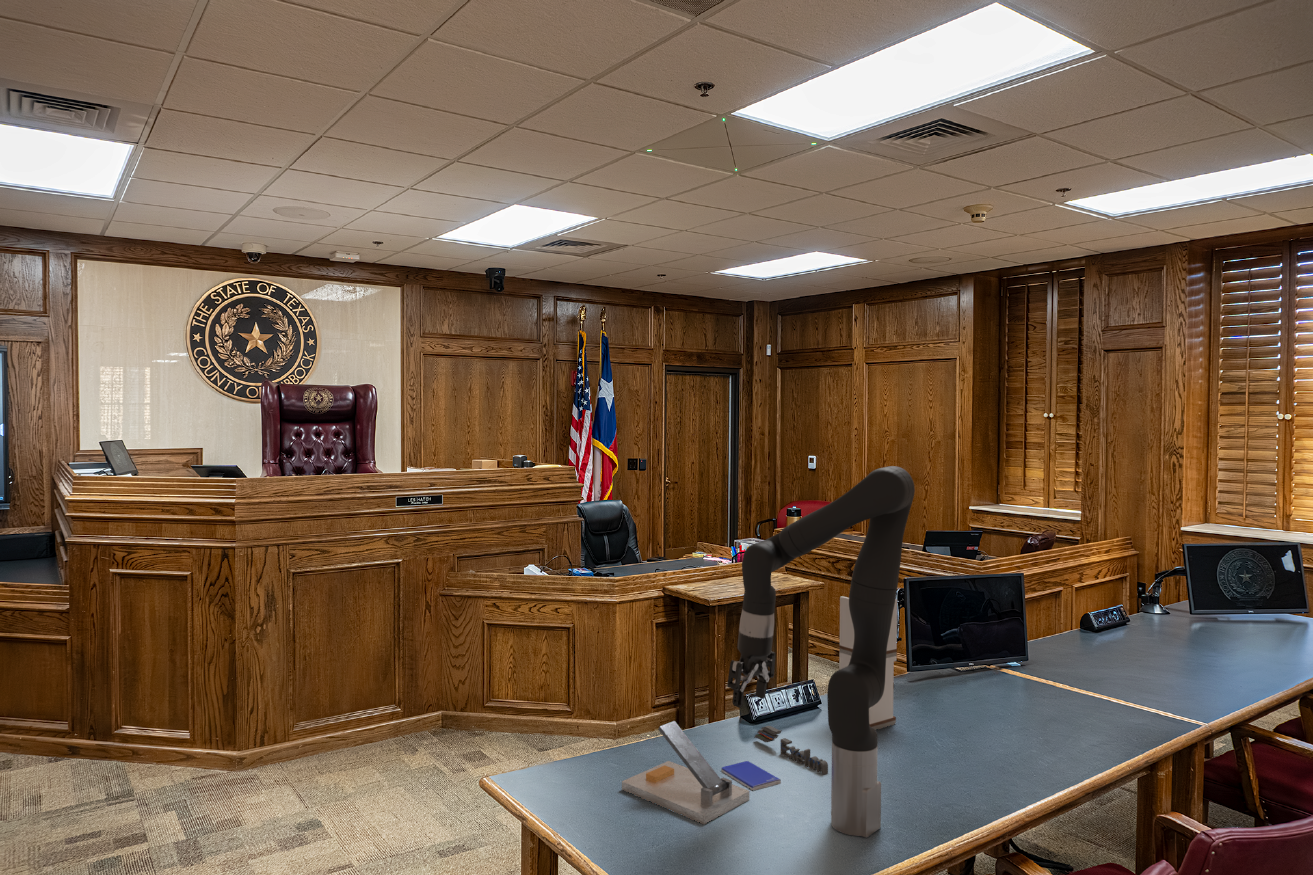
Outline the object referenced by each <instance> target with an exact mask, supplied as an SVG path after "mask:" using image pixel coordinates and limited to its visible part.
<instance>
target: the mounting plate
mask: <svg viewBox="0 0 1313 875" xmlns="http://www.w3.org/2000/svg"><path fill="white" fill-rule="evenodd" d="M720 779H721V780H722V781H724V782H725V783H726V785H727V789H726V790H724V791H722V792H720V793H718V794H716V795H714V796H713V790H710V789H708V788H705V787H702V785H701V784H700V783H699V782H698V780H697V779H696V778H695V776H694V775H693V774H692V773H691V771H690V770H689V769H688V767H687V766H684V765H680V764H678V763H675V762H672V761H671V760H667V761H665V762H662V763H661V764H658V765H656V766H654V767H652V768H649V769H647V770H644V771H642V772H640V773H638V774H635V775H633V776H631V777H628V778H627V779H625V780H622V781H621V791H623V790H624V791H623V792H625V791H626V792H625V793H628V792H629V793H628V794H630V793H632V794H634V795H633V796H635V795H636V796H635V797H637V796H638V797H637V798H639V797H641V798H640V799H642V800H644V799H646V800H645V801H647V802H649V801H651V802H652V803H651V802H650V803H651V804H654V803H656V804H657V805H656V804H655V805H656V806H658V805H660V806H659V807H661V806H662V807H661V808H663V807H665V808H667V809H666V810H668V809H670V810H672V811H671V812H673V811H674V812H673V813H675V812H676V813H675V814H677V813H678V815H680V814H682V815H683V816H682V815H681V816H682V817H684V816H686V817H685V818H687V817H688V818H687V819H689V818H690V820H692V821H694V820H695V821H694V822H696V821H697V822H696V823H699V822H700V823H699V824H701V825H706V824H708V823H709V821H710V822H712V821H713V820H715V819H717V818H718V816H719V817H720V816H722V815H724V814H726V813H728V812H730V811H732V810H733V809H735V808H738V807H739V806H741V805H743V804H745V803H746V802H748V801H750V789H749V790H748V789H746V788H744V787H740V786H738V785H735V784H733V781H732V780H731V779H729V778H726V777H722V778H720ZM632 794H631V795H632ZM665 808H664V809H665ZM670 810H669V811H670ZM711 820H712V821H711ZM707 822H708V823H707Z"/></svg>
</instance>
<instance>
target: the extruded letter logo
mask: <svg viewBox="0 0 1313 875" xmlns="http://www.w3.org/2000/svg"><path fill="white" fill-rule="evenodd" d="M782 731H783V730H782V729H781V730H780V729H779V728H778V729H777V728H775V727H774V726H771V725H766V726H763V727H761V729H759V730H758V731H757V734H755V735H754V738H755V739H759V740H760V741H762V742H764V743H770V742H775V739H777V738H778V737H779V736H780V735H779V734H781V733H782ZM790 744H793V741H792V740H791V739H788V738H786V737H784V738H783V737H782V738H781V739H780V753H779V754H780V755H781V756H783V757H785V758H788V759H790V760H792V761H794V762H796V763H798V764H800V765H803V764H804V766H805V768H809V769H811V770H813V771H815V770H816V773H820V772H821V775H823V776H825V775H828V774H829V763H828V762H827V761H826V760H823V759H822V758H819V757H817V756H815V755H814V756H811V749H810V748H807V749H804V750H801V749H800V748H796V746H794V745H792V746H789V745H790ZM788 751H790V752H788Z"/></svg>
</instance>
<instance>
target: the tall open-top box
mask: <svg viewBox="0 0 1313 875" xmlns="http://www.w3.org/2000/svg"><path fill="white" fill-rule="evenodd" d="M897 639H898V599H895V605H894V610H893V615H892V621H891V627H890V633H889V638H888V644H887V653H886V672H885V687H884V693H883V696H882V698H881V699H880V700H879V702H878V703H877V704H875V705H874V706H872V707H870V708H869V726H870V727H872V728H874V729H875V730H876V729H878V730H880V729H883V727H884V728H887V726H888V727H891V726H894V724H895V723H896V724H897V717H896V716H895V715H894V680H895V679H894V674H895V673H894V670H895V669H894V668H895V667H894V664H895V663H894V662H897V654H898V653H897V651H898V650H897V649H898V648H897V643H898V641H897ZM853 645H854V627H853V623H852V619H851V615H850V610H849V596H848V597H847V596H840V597H839V650H838V652H839V653H838V654H839V658H838V659H839V660H838V661H839V664H838V666H839V668H838V670H840V669H842V668H845V667H847V666H848V665H849V662H850V659H851V655H852V650H853ZM896 724H895V725H896ZM890 725H891V726H890ZM876 731H877V730H876Z"/></svg>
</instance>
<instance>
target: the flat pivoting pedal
mask: <svg viewBox="0 0 1313 875" xmlns="http://www.w3.org/2000/svg"><path fill="white" fill-rule="evenodd" d="M657 730H658V731H659V733H661V735H662V736H663V737H664V739H665V740H666V741H667V743H668V745H670V747H671V748H672V749H673V751H674V752H675V753H676V754H677V755H678V757H679V758H680V760H681V761H682V763H684V765H685V767H687V768H688V769H689V770H690V771H691V773H692V774H693V775H694V776H695V778H696V779H697V780H698V782H699V783H700V784H701V785H702V787H705V788H708V789H710V790H713V796H714V795H716V794H718V793H720V792H722V791H724V790H726V789H727V785H726V783H725V782H724V781H722V780H721V778H720V776H719V775H718V774H717V773H716V771H715V770H714V768H712V766H711V765H710V763H709V762H708V761H707V760H706V759H705V757H704V756H703V754H702V753H700V751H699V750H698V748H697V747H696V746H695V745H694V743H693V742H692V741H691V739H690V738H689V737H688V736H687V735H686V733H685V732H684V731H683V730H682V728H681V727H680V726H679V725H678V723H677V722H676V721H675V720H673V721H671V722H668V723H666V724H662V725H660V726H658V728H657Z"/></svg>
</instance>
